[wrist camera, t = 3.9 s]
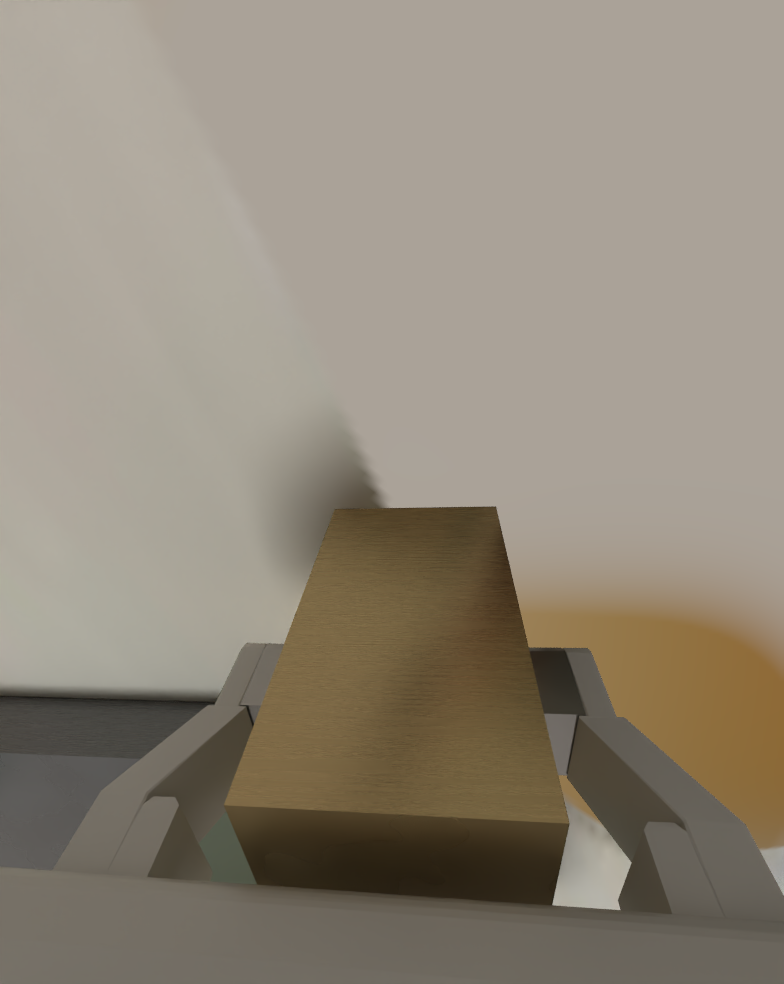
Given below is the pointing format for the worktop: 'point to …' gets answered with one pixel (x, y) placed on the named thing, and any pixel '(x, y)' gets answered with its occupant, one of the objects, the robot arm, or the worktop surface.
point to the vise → (68, 764)
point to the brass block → (404, 723)
